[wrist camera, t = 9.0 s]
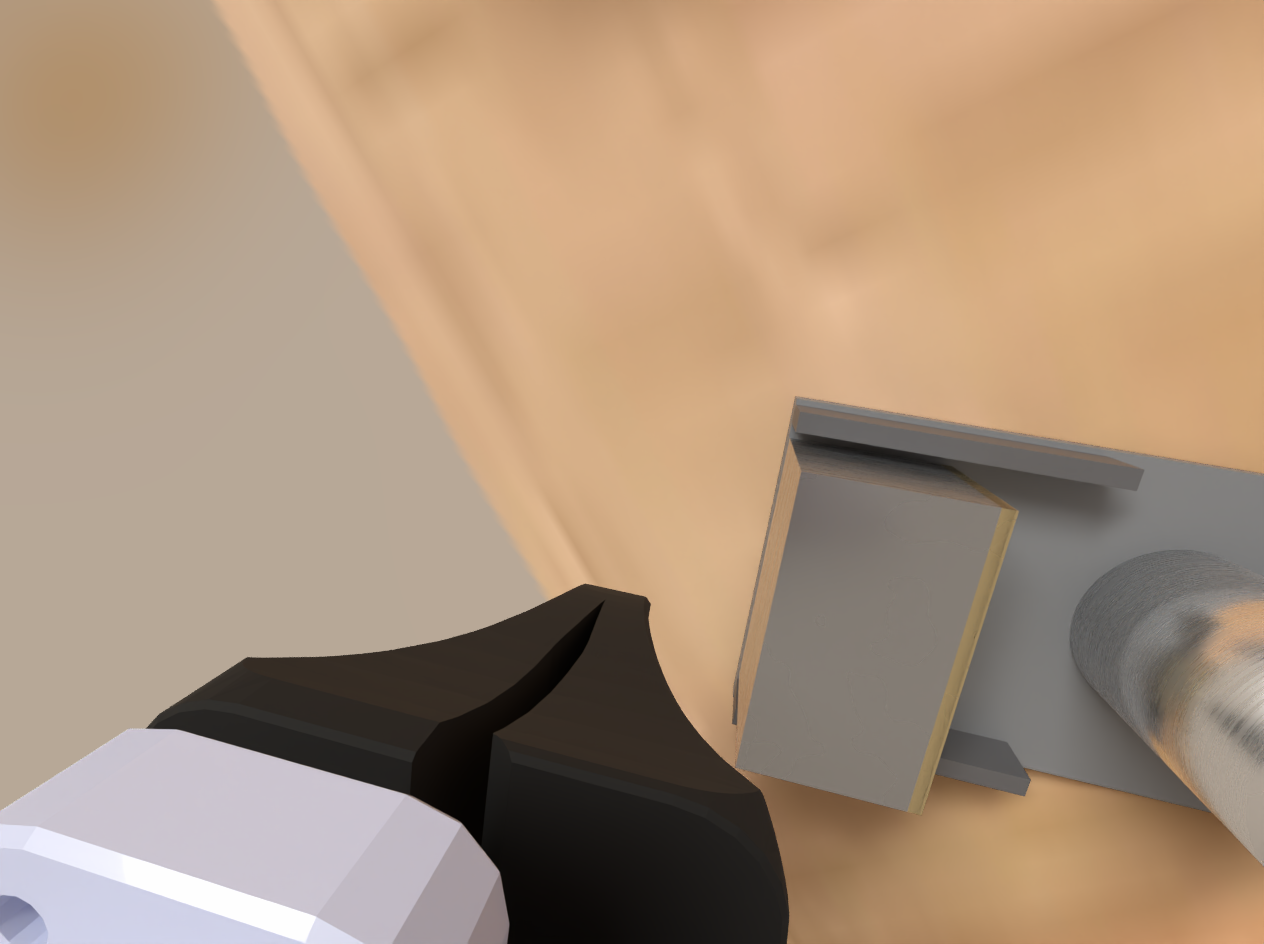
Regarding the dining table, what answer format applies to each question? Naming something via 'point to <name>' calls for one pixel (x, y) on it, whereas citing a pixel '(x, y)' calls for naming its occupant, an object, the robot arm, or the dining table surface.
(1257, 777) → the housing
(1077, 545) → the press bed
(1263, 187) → the dining table surface
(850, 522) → the block
